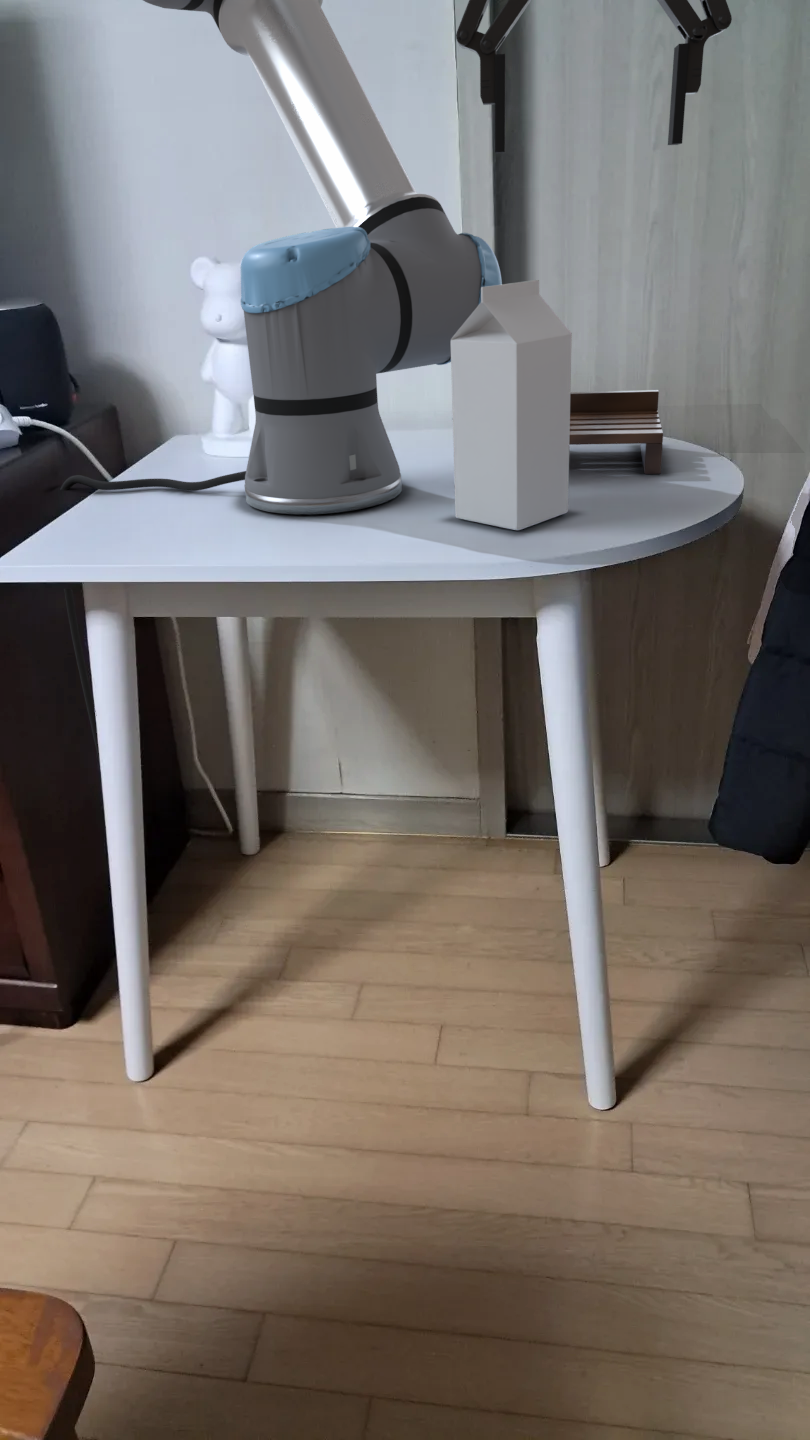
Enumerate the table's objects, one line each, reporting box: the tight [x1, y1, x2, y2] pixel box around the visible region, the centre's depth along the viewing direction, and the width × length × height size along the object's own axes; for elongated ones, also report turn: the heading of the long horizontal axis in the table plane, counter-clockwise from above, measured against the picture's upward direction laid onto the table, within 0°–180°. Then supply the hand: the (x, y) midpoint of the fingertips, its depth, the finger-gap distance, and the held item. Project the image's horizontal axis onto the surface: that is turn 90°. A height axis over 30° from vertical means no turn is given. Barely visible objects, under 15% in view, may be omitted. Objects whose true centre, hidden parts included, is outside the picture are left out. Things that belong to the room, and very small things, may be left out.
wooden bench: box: [569, 389, 664, 475], centre depth 108 cm, size 13×13×6 cm
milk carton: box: [450, 279, 573, 531], centre depth 87 cm, size 7×7×19 cm
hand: (586, 149), depth 81 cm, fingers open, 13 cm apart
